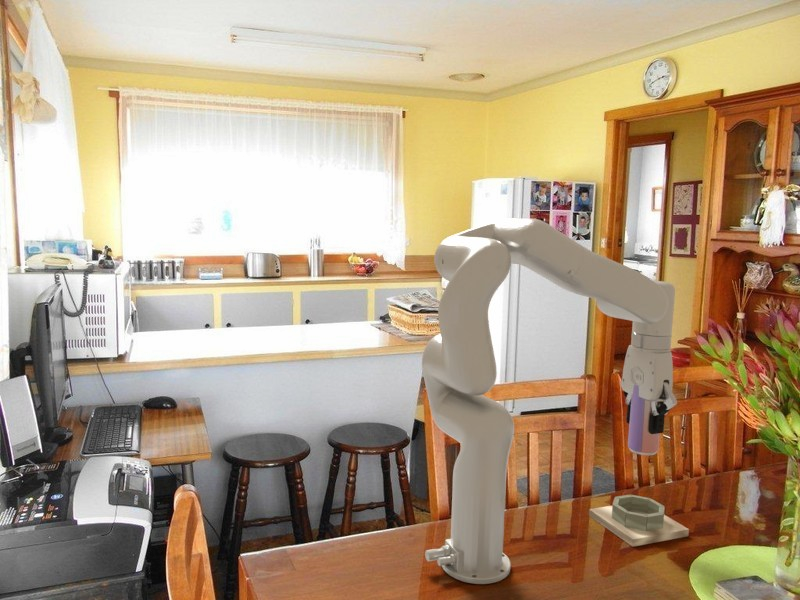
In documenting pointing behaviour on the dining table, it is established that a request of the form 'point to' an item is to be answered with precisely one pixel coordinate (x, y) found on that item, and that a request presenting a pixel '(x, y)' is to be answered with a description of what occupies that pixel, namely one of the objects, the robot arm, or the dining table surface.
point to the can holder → (638, 520)
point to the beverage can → (641, 426)
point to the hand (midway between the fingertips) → (644, 427)
